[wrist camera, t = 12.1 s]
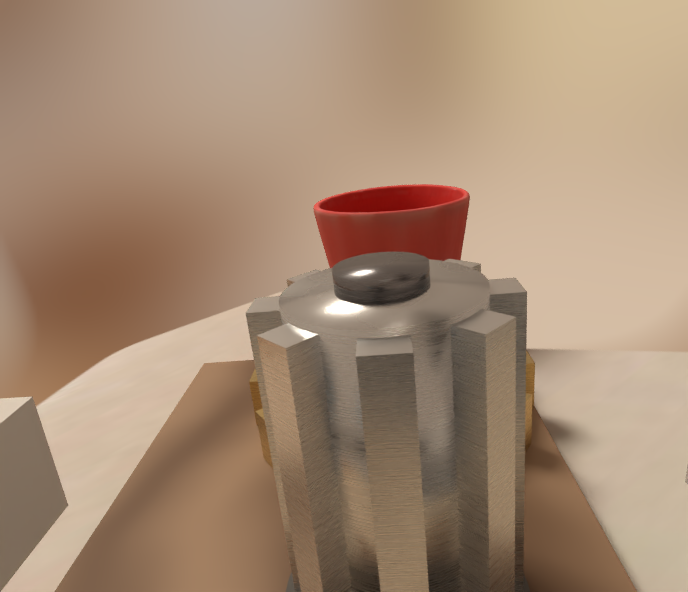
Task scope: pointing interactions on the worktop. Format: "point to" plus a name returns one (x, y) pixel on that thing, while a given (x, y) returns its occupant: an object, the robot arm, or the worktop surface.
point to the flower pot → (394, 221)
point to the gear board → (265, 514)
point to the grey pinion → (397, 424)
